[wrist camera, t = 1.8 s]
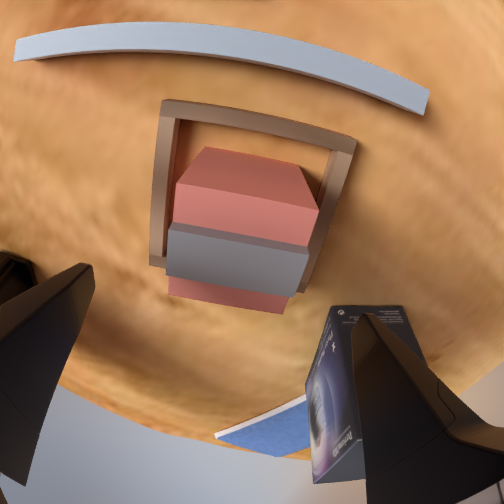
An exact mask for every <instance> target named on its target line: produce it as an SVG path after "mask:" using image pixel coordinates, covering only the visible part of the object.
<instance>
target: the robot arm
mask: <svg viewBox="0 0 504 504" xmlns="http://www.w3.org/2000/svg"><path fill="white" fill-rule="evenodd" d="M94 290H95V280H94V272H93V267H92V265H90V264H87V263H78V264H76V265H74V266H72V267H70V268H69V269H67V270H65V271H63V272H61V273H59V274H57V275H55V276H53V277H51V278H49V279H47V280H46V281H44V282H42V283H40V284H38V285H37V283H36V280H35V276H34V272H33V268H32V265H31V263H30V262H29V261H27V260H24V259H21V258H18V257H14V256H11V255H8V254H4V253H1V252H0V475H1V473H3V474H4V475H6V476H7V477H9V478H11V479H12V480H14V481H16V482H18V483H20V484H21V485H23V486H26V483H27V479H28V474H29V471H30V467H31V463H32V459H33V456H34V452H35V449H36V445H37V441H38V438H39V433H40V431H41V428H42V425H43V422H44V419H45V416H46V413H47V410H48V407H49V405H50V402H51V399H52V397H53V393H54V391H55V389H56V386H57V383H58V381H59V378H60V376H61V373H62V371H63V368H64V366H65V364H66V361H67V359H68V357H69V354H70V352H71V350H72V347H73V345H74V343H75V341H76V338H77V336H78V334H79V332H80V329H81V327H82V324H83V321H84V318H85V315H86V313H87V310H88V307H89V304H90V301H91V299H92V296H93V293H94ZM351 340H352V357H353V374H354V381H355V388H356V395H357V402H358V409H359V417H360V425H361V434H362V443H363V453H364V464H365V477H366V494H367V504H504V428H502V427H495V426H492V425H490V424H488V423H486V422H485V421H484V420H482V419H481V418H480V417H479V416H478V415H477V414H476V413H474V411H472V410H471V409H470V408H469V407H468V406H467V405H466V404H465V403H463V401H461V400H460V399H459V398H458V397H457V396H456V395H455V394H454V393H453V392H452V391H451V390H450V389H449V388H448V387H447V386H446V385H445V384H444V383H443V382H442V381H441V380H440V379H439V378H437V376H436V375H435V374H434V373H433V372H432V371H431V370H430V369H429V368H428V367H427V366H426V365H425V364H424V363H423V362H422V361H421V360H420V359H419V358H418V357H417V356H416V355H415V354H414V353H413V352H412V351H411V350H410V349H409V348H408V347H407V346H406V345H405V344H404V343H403V342H402V341H401V340H400V339H399V338H398V337H397V336H396V335H395V334H394V333H393V332H392V331H391V330H390V329H389V328H388V327H387V326H386V325H385V324H384V323H383V322H382V321H381V320H380V319H379V318H378V317H377V316H376V315H374V314H372V313H362V314H361V315H360V317H359V319H358V320H357V322H356V324H355V326H354V327H353V329H352V333H351ZM0 504H7V501H6V499H5V497H4V495H3V492H2V490H1V488H0Z"/></svg>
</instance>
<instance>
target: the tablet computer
mask: <svg viewBox="0 0 504 504" xmlns="http://www.w3.org/2000/svg"><path fill="white" fill-rule="evenodd" d="M214 435H215V438H216V439H219V440H221V441H224V442H227V443H230V444H233V445H236V446H239V447H243V448H246V449H249V450H253V451H256V452H259V453H263V454H267V455H271V456H274V457H282V456H285V455H288V454H291V453H294V452H297V451H300V450H302V449H305V448H308V447H311V445H310V431H309V422H308V409H307V400H306V393H305V394H303V395H301V396H299V397H297V398H295V399H293V400H291V401H289V402H287V403H285V404H283V405H281V406H279V407H277V408H275V409H273V410H271V411H268V412H266V413H264V414H262V415H259V416H257V417H255V418H252V419H250V420H248V421H245V422H243V423H240V424H238V425H235V426H233V427H230V428H227V429H225V430H222V431H219V432H216V433H215V434H214Z"/></svg>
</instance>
